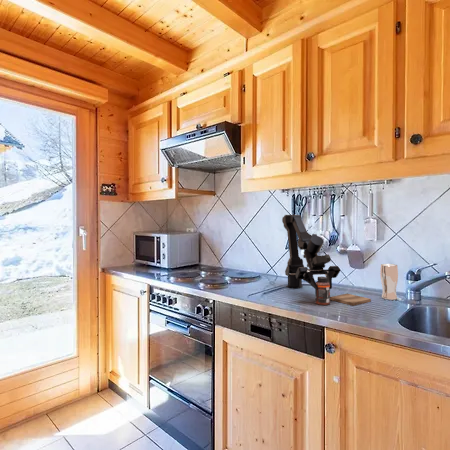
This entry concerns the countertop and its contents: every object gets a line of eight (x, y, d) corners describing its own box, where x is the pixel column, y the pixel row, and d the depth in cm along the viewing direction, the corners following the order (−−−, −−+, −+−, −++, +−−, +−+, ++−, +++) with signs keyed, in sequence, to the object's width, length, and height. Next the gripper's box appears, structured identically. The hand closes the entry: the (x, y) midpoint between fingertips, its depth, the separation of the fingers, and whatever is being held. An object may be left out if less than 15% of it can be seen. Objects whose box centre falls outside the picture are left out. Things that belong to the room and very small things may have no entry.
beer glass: (377, 297, 139) (376, 264, 139) (388, 295, 142) (388, 263, 142) (390, 300, 133) (389, 266, 133) (402, 299, 135) (401, 265, 135)
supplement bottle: (332, 305, 127) (332, 278, 127) (318, 305, 127) (318, 278, 127) (326, 301, 133) (326, 275, 133) (313, 302, 133) (313, 276, 133)
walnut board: (329, 299, 136) (329, 297, 136) (347, 296, 142) (347, 293, 142) (352, 305, 126) (352, 302, 126) (370, 301, 132) (370, 298, 132)
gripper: (297, 248, 133) (308, 278, 122) (338, 247, 135) (351, 276, 124) (291, 264, 140) (300, 294, 130) (329, 263, 143) (342, 291, 132)
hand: (324, 288), depth 129 cm, fingers closed on supplement bottle, 6 cm apart
